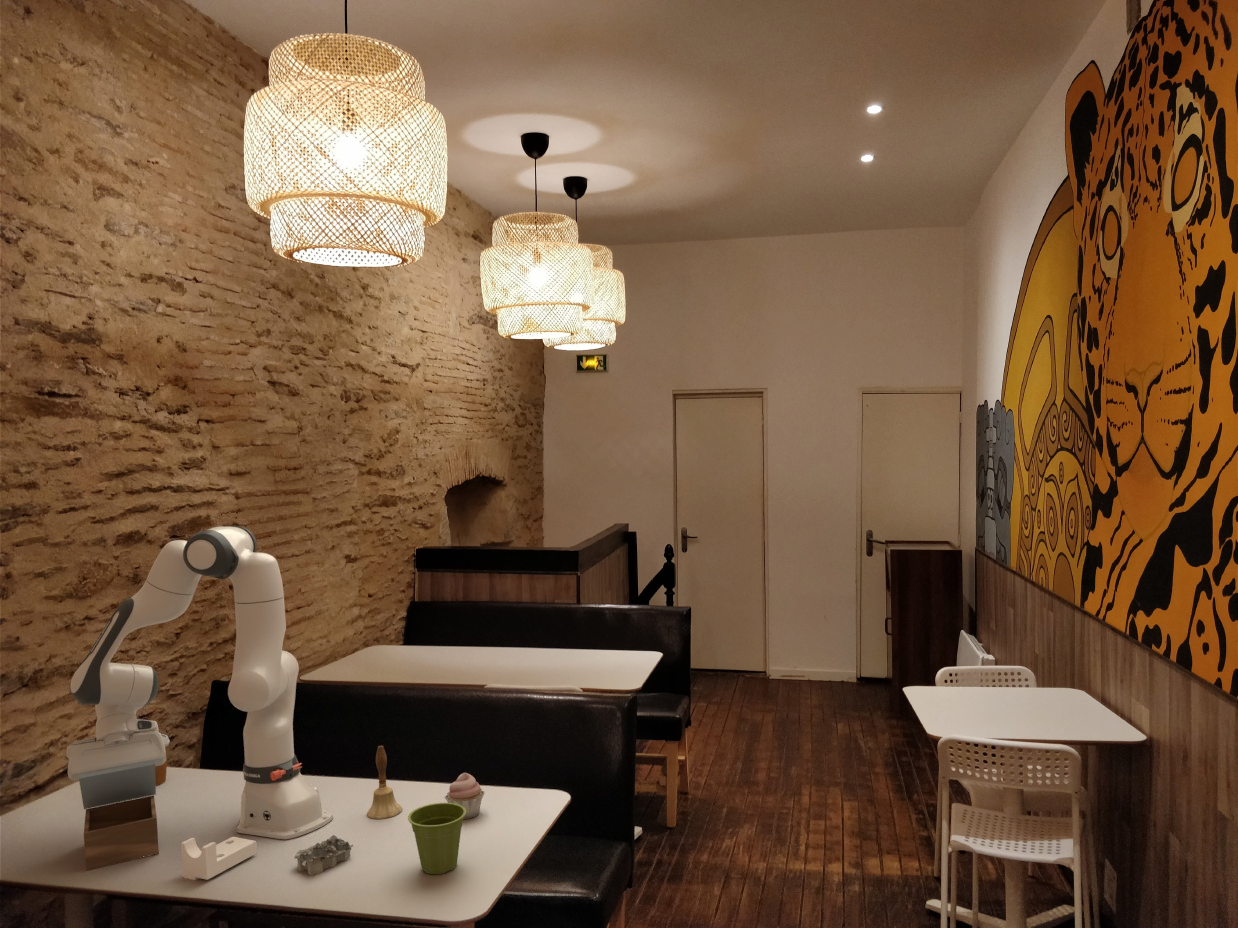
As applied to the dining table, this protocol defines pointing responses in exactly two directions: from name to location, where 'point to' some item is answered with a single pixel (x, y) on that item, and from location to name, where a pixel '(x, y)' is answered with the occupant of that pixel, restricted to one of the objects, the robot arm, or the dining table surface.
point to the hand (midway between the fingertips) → (118, 788)
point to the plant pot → (437, 835)
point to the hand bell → (383, 792)
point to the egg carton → (323, 855)
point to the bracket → (214, 856)
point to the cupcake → (466, 794)
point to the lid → (118, 784)
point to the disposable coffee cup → (161, 769)
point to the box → (120, 832)
